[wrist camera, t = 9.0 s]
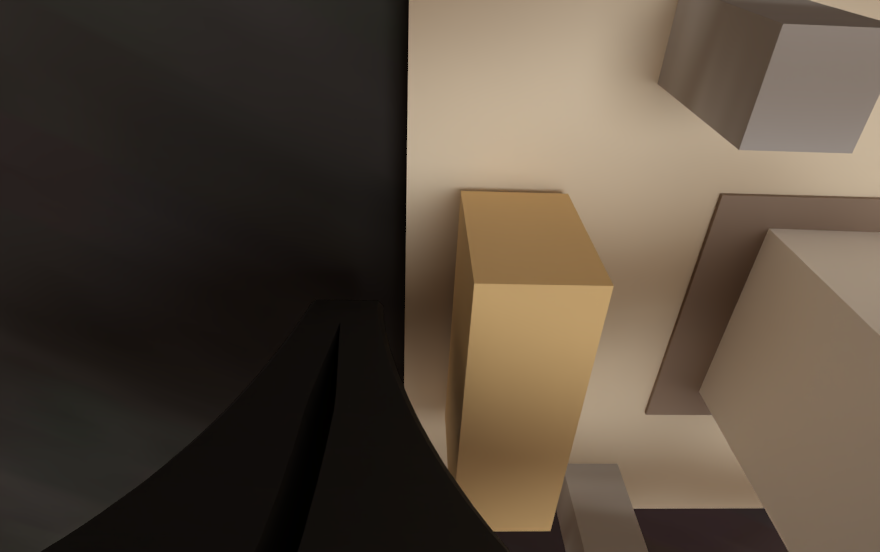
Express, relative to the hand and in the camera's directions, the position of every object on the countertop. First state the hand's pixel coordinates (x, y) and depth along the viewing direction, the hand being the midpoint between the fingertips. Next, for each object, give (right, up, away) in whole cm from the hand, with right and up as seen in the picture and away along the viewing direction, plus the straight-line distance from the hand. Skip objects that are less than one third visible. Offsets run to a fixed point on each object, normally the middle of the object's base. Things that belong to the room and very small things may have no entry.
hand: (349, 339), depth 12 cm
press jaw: (+3, 0, +1) cm, 3 cm away
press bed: (+9, +1, +2) cm, 9 cm away
